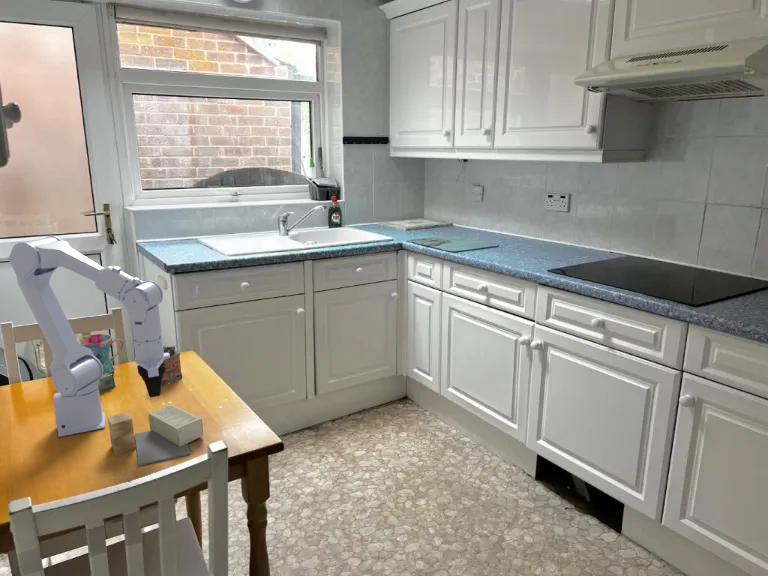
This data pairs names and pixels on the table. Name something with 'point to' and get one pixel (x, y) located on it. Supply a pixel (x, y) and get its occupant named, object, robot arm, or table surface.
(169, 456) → the plate
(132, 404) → the table surface
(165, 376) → the reddish brown pouch
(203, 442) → the table surface
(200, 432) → the skincare box
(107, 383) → the medication box
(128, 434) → the oak block
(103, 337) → the mug
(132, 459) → the table surface
